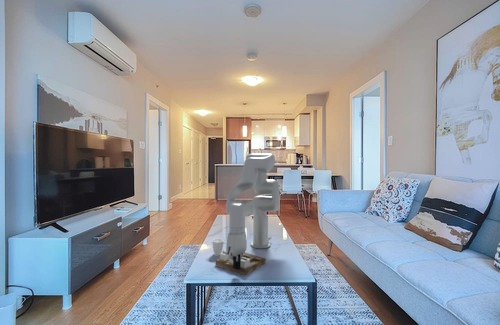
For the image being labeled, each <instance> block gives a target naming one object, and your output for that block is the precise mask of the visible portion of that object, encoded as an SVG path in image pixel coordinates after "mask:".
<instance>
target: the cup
mask: <svg viewBox="0 0 500 325" xmlns="http://www.w3.org/2000/svg"><path fill="white" fill-rule="evenodd" d="M211 243H212V249H213V250H212V251H213V255H214V256H216V257H217V256H219V257H220V253H222V252H223V249H224V244H226V243H227V241H226V242H225V240H224V239H223V238H213V239H212V240H211Z"/></svg>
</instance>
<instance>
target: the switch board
mask: <svg viewBox="0 0 500 325" xmlns="http://www.w3.org/2000/svg"><path fill="white" fill-rule="evenodd" d="M242 257H245V258H248V259H250V266H249V267H247V268H245V269H244V268H240V269H239V270H237V269H234V268H233V264H231V263H229V260H228V261H225V262H224V261H222V260H220V257H219V258H217V259H215V266H216V267H220V268H222V269H225V270H228V272H229V271H230V272H232V273H235V274H237V275H240V276H243V277H245V276H247V275H248V274H250V273H252V272H253V271H256V270H257V269H260V268H261V267H262V266H264V265H266V264H267V258H266V257H261V256H258V255H255V254H252V253H249V252H246V251H245V253H244V254H243V255H242Z"/></svg>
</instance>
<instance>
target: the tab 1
mask: <svg viewBox="0 0 500 325" xmlns="http://www.w3.org/2000/svg"><path fill="white" fill-rule="evenodd" d="M228 256H229V254H226V250H222V253H220V255H219V258H220V260H222V261H224V262H225V261H228V260H229V259H228Z"/></svg>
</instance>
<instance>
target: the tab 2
mask: <svg viewBox="0 0 500 325" xmlns="http://www.w3.org/2000/svg"><path fill="white" fill-rule="evenodd" d="M249 266H250V259H248V258H245V257H242V259H241V268H244V269H245V268H247V267H249Z"/></svg>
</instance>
